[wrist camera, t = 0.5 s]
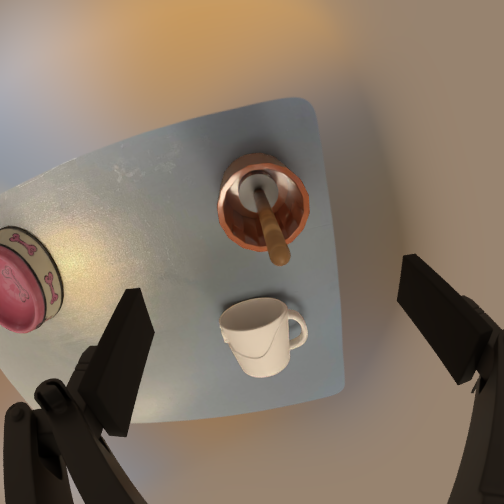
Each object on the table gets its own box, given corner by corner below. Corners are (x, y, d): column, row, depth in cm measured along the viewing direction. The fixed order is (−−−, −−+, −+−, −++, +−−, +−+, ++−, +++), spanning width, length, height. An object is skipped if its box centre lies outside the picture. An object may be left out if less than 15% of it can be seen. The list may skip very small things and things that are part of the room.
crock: (216, 157, 38) (211, 169, 29) (288, 149, 38) (306, 159, 29) (226, 225, 42) (224, 256, 33) (294, 216, 42) (311, 245, 33)
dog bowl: (28, 331, 48) (12, 352, 41) (-25, 255, 40) (-46, 272, 34) (82, 299, 45) (66, 323, 39) (21, 205, 38) (-4, 220, 32)
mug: (235, 348, 51) (236, 383, 43) (219, 304, 47) (217, 338, 40) (305, 333, 50) (315, 366, 43) (296, 287, 46) (308, 318, 39)
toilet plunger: (235, 172, 38) (240, 230, 19) (273, 168, 39) (316, 220, 19) (240, 208, 40) (249, 295, 21) (277, 204, 40) (317, 286, 21)
